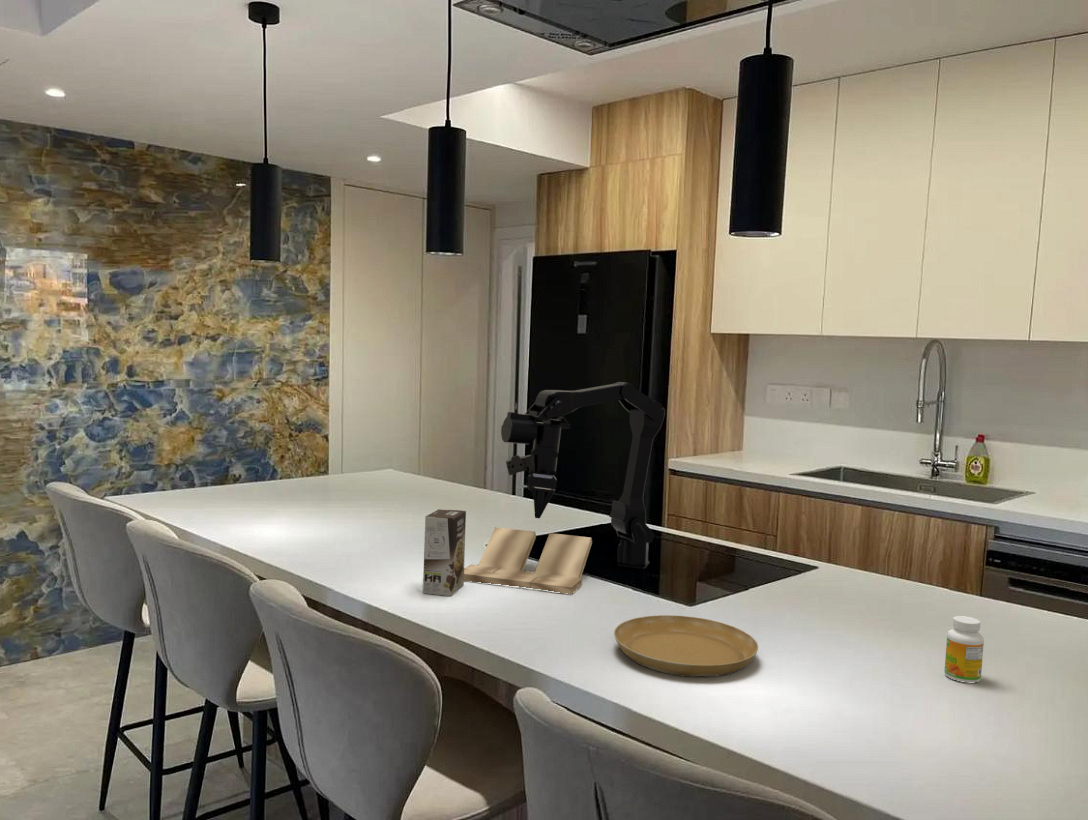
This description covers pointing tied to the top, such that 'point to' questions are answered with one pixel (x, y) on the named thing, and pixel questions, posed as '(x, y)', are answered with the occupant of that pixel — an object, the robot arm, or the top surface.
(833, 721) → the top surface
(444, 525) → the coffee box
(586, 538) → the near plank
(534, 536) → the far plank
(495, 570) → the laid section
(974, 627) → the supplement bottle
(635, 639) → the plant saucer
